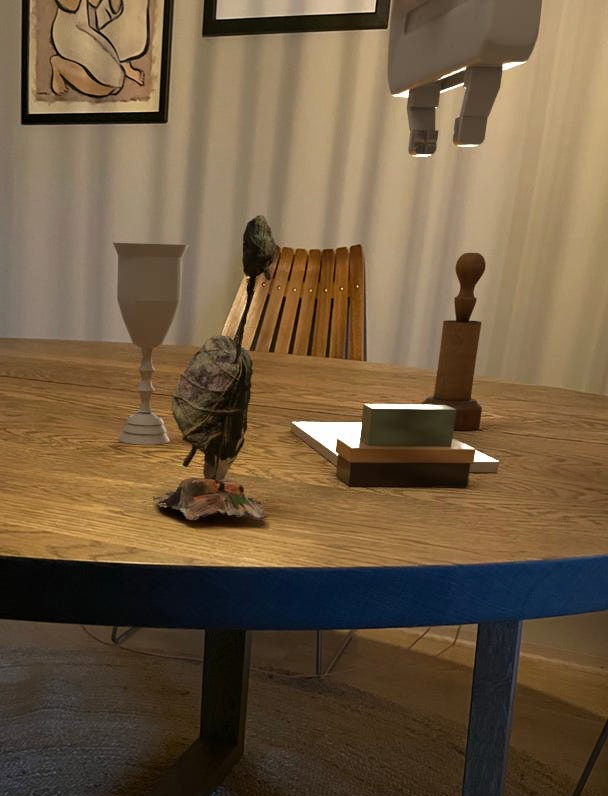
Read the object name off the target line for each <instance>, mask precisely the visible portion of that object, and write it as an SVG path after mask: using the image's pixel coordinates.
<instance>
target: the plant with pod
mask: <svg viewBox="0 0 608 796" xmlns="http://www.w3.org/2000/svg"><path fill="white" fill-rule="evenodd" d="M267 221H268V220H267V217H265V216H264V215H263V214H259V215H256V216H255V217H253V218H252V219H251V220H248V222H247V223H246V226H245V230H244V232H243V235H242V267H243V271H242V272H243V273H244V275H245V277H248V279H247V285H246V288H245V289H246V295H247V296H246V303H245V308H244V312H243V316H242V319H241V324H240V329H239V335H236V334H234V336H235V338H238V340H237V341H236V340H234V339H232V337H231V336H228V335H224V334H223V335H222V334H219V335H217V334H216V335H212V336H210V338H208V339H207V340H205V342H204V343H203V344H202V346H200V347H199V348H198V349H197V351H196V352H195V354H193V357H192V359H191V360H190V361H189V363H188V364H187V366H186V369H185V370H184V371H183V372H182V373H181V374H180V377H179V379H178V380H177V382H176V384H175V387H174V391H173V393H172V394H171V395H172V397H171V399H172V401H171V412H172V416H173V418H174V421H175V422H176V425H177V427H178V430H179V431H180V432H181V434H182V438H181V439H182V441H185V442H186V443H189V444H190V445H191V449H190V451H189V452H188V454H187V455H186V456H185V457H184V458H183V461H182V462H183V463H182V464H181V466H182V467H184V468H188V467H189V465H190V464H191V462H192V460H193V459H194V457H195V455H196V454H197V450H198V451H200V452H202V453H203V454H204V457H203V461H204V464H203V470H202V473H203V478H201V477H200V478H198V477H190V478H184V479H183V480H182V481H181V482H180V483H179V485H178V487H177V488H176V490H175V491H170V492H165V494H164V495H162V496H156V497H155V496H152V501H154V503H155V504H156V505H157V506H159V507H160V508H162V507H163V508H166V509H167V508H170V507H171V509H174V510H179V511H180V512H181V513H182V514H183V515H184V516H185V519H187V520H191V521H196V520H200V517H202V518H203V517H204V518H206V517H209V516H210V515H213V514H216V513H220V514H222V515H225V513H226V514H227V515H228V516H233V515H235V516H236V517H237V518H240V517H243V518H246V517H249V518H252V519H254V520H261V521H262V520H264V519H266V518H269V515H268V514H267V513H265V510H264V506H265V505H264V504H262V503H261V501H257V499H254V497H247V496H246V493H245V487H244V484H243V483H241V482H239V481H237V480H234V479H229V478H226V475H227V473H228V472H229V469H230V468H231V466H232V465H233V463H234V462H235V460H236V459H237V457H238V455H239V453H240V452H241V449H242V448H243V446H244V443H245V434H246V432H247V430H248V410H249V403H250V401H251V394H252V393H251V392H252V391H251V388H252V376H253V374H254V370H253V360H252V359H251V355H250V353H249V351H248V350H246V348H245V347H243V346H242V345H243V344H242V343H243V339H244V335H245V327H246V324H247V320H248V319H247V317H248V313H249V311H250V308H251V301H252V296H253V292H254V289H255V286H256V281H257V277H258V276H260V275H262V274H263V275H264V278H265V279H266V281H270V280H272V275H271V273H270V266H271V265H272V264H273V262H274V261H275V260H276V257H277V244H276V241H275V237H274V236H273V234H272V233H273V232H272V228H271V227H270V226H269V225H268V222H267Z"/></svg>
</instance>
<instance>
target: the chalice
mask: <svg viewBox="0 0 608 796" xmlns="http://www.w3.org/2000/svg"><path fill="white" fill-rule="evenodd" d="M112 245H113V247H114V249H115V251H116V254H117V289H116V291H117V293H116V299H117V303H118V306H119V310H120V313H121V317H122V320H123V323H124V325H125V327H126V330H127V332H128V336H129V337H130V340H131V342H132V344H133V345H135V346H136V347H138V348H140V350H141V356H142V358H141V363H140V366H139V368H138V369H137V370H138V372H139V373H140V377H141V381H140V385H139V386H138V387H137V388H136V390H137V392H138V393H139V396H140V405H139V409H137V410H136V411H137V413H135V414H131V415H130V416H128V418H127V419H126V421H125V425H124V426H123V428H122V433H121V434H120V436H119V437H118V441H119V442H122V443H124V444H125V443H126V444H132V445H140V446H141V445H144V446H145V445H146V446H148V445H149V446H150V445H151V446H152V445H154V446H155V445H163V444H168V443H170V442H171V441H170V438H169V436H168V435H167V429H166V427H165V425H164V424H165V422H164V420H163V419H162V417H161V416H159V415H156V414H155V413H153V412H154V410H153V409H152V406H151V399H152V394H153V393H154V392H156V389H155V388H154V386H153V383H152V377H153V373H154V372H155V371H156V369H155V367H154V365H153V358H152V357H153V353H154V349H155V348H157V347H160V346H161V345H163V343H164V341H165V340H166V337H167V335H168V333H169V331H170V329H171V327H172V325H173V323H174V321H175V318H176V315H177V312H178V309H179V306H180V304H181V301H182V283H183V260H184V259H183V258H184V256H185V254H186V252H187V250H188V247H189V244H175V243H174V244H171V243H140V242H139V243H138V242H137V243H136V242H112Z"/></svg>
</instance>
